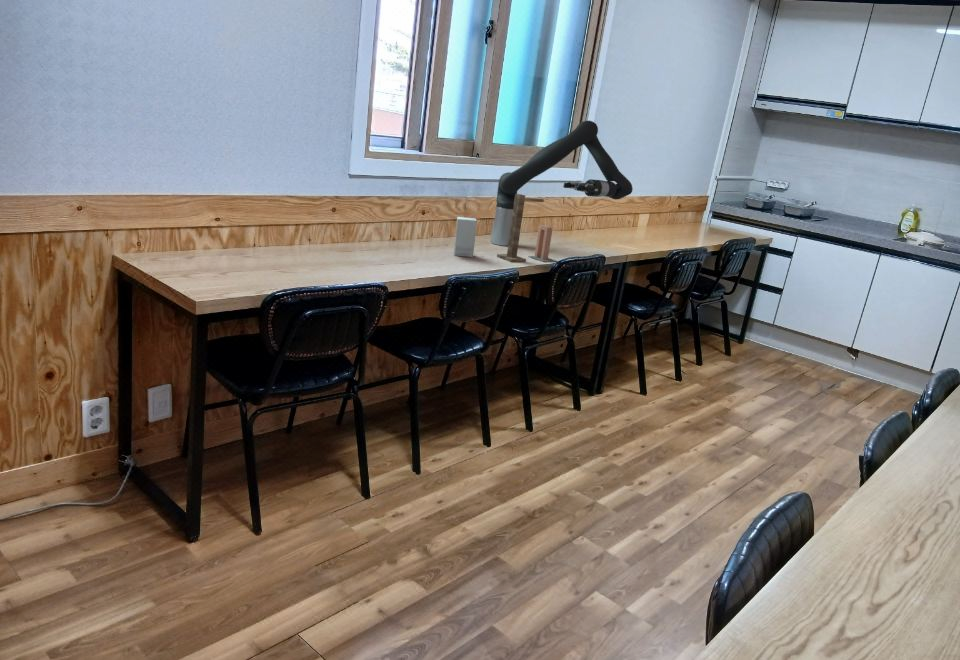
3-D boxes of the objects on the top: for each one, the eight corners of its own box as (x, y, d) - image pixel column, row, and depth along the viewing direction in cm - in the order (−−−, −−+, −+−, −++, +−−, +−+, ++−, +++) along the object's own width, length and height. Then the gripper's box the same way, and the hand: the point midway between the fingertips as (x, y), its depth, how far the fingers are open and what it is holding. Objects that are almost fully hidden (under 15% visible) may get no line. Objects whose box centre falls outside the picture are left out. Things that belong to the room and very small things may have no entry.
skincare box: (472, 254, 315) (477, 218, 311) (473, 257, 309) (477, 220, 305) (453, 252, 315) (457, 216, 310) (453, 255, 308) (457, 218, 304)
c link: (534, 256, 328) (539, 225, 324) (539, 256, 330) (544, 225, 326) (542, 259, 324) (547, 227, 320) (547, 259, 326) (552, 227, 322)
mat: (528, 256, 327) (528, 256, 327) (541, 256, 332) (541, 255, 332) (543, 262, 320) (543, 261, 320) (556, 261, 325) (556, 260, 325)
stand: (496, 256, 318) (505, 192, 310) (526, 256, 328) (535, 193, 321) (511, 262, 310) (520, 196, 303) (541, 261, 321) (551, 197, 313)
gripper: (586, 177, 340) (561, 175, 330) (609, 182, 329) (583, 180, 320) (584, 194, 342) (558, 192, 332) (606, 199, 331) (580, 197, 322)
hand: (570, 186), depth 326 cm, fingers open, 8 cm apart
